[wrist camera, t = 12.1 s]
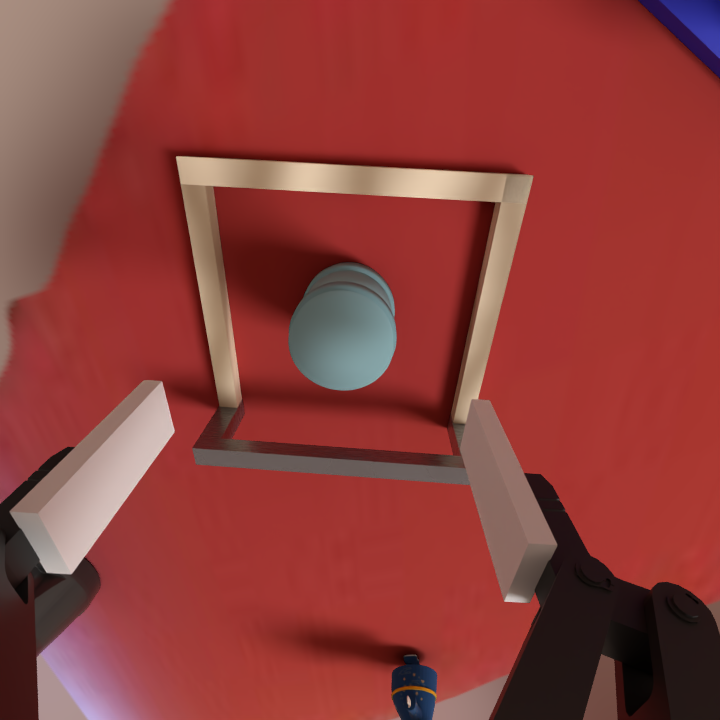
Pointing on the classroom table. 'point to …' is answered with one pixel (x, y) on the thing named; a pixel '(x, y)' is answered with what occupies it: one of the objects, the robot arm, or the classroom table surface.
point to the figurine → (414, 690)
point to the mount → (692, 26)
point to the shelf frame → (351, 180)
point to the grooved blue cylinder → (344, 327)
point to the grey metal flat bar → (325, 455)
